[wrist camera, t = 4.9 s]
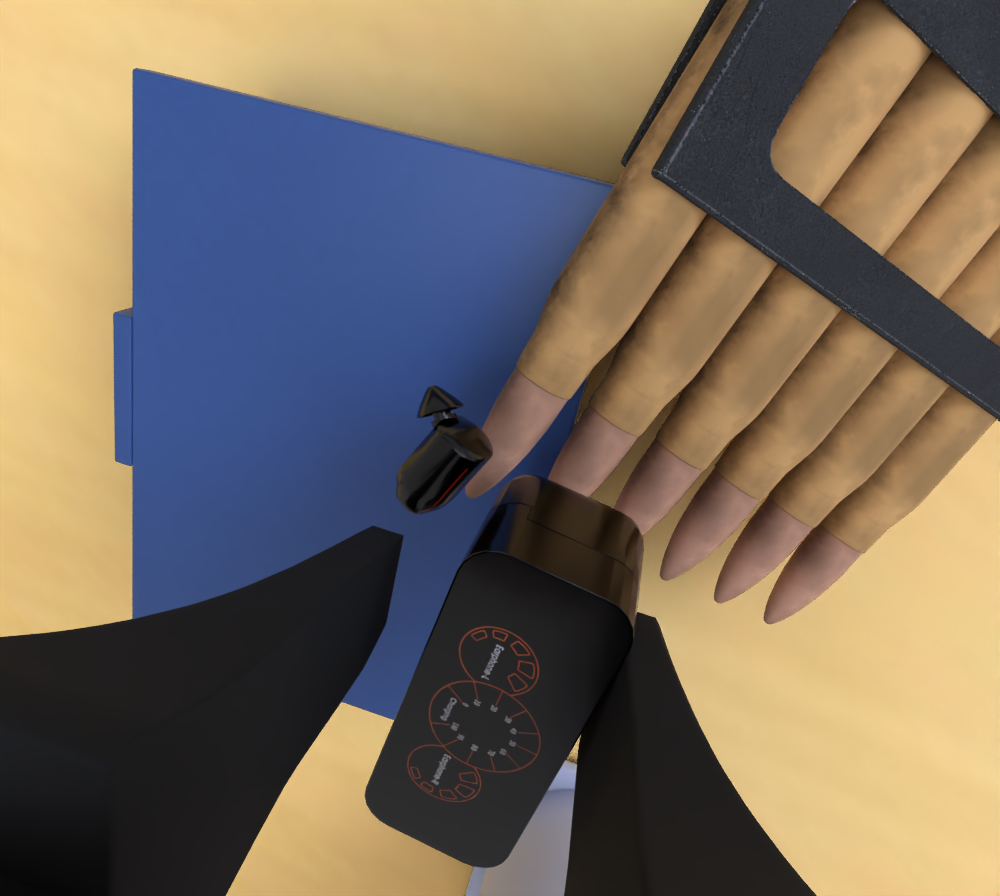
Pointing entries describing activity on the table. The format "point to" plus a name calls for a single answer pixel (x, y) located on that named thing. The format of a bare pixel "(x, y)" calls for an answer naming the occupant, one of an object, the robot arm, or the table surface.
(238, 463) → the container
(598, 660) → the wireless earbuds
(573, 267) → the ammunition clip
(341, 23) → the table surface
